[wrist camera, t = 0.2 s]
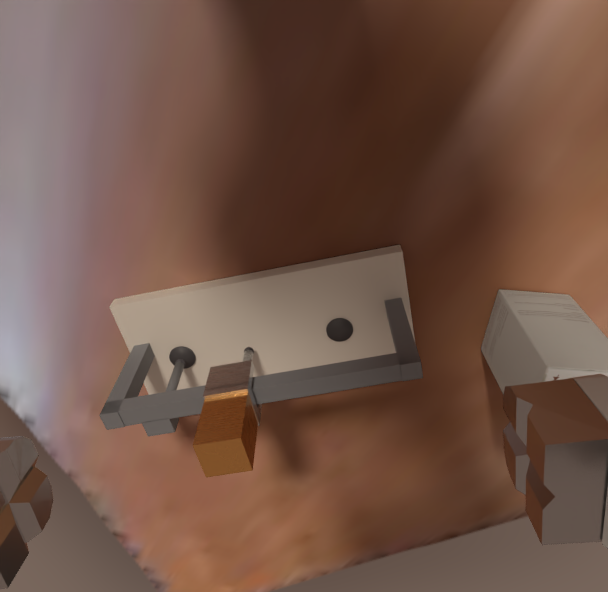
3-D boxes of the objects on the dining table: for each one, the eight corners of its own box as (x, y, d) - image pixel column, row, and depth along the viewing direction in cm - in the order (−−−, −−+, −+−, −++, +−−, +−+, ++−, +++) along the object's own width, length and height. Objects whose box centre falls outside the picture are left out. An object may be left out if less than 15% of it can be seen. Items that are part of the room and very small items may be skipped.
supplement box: (478, 349, 56) (519, 438, 45) (497, 286, 52) (548, 365, 41) (548, 356, 56) (607, 445, 45) (572, 293, 52) (643, 373, 41)
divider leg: (222, 323, 52) (190, 442, 38) (258, 316, 51) (240, 434, 38) (233, 356, 54) (207, 481, 40) (268, 350, 53) (254, 474, 39)
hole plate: (114, 299, 53) (67, 372, 43) (400, 244, 50) (423, 309, 40) (162, 407, 60) (132, 493, 49) (417, 365, 57) (440, 447, 46)
